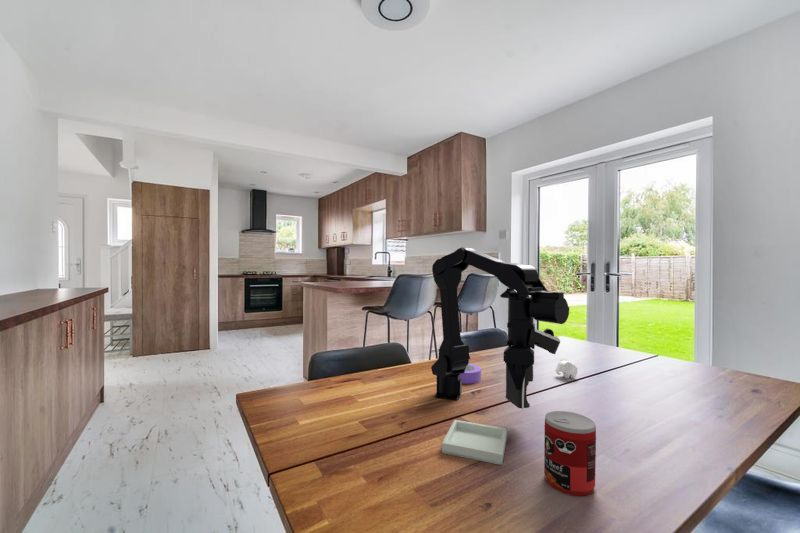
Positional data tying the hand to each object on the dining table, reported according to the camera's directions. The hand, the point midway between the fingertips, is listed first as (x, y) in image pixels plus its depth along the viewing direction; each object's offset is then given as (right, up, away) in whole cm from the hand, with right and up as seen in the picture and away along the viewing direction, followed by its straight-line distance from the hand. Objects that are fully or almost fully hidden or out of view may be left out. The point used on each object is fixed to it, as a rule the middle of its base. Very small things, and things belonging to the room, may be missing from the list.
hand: (519, 384), depth 83 cm
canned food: (+1, -10, -22) cm, 24 cm away
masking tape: (-7, -10, +36) cm, 38 cm away
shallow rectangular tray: (-12, -10, -9) cm, 18 cm away
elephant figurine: (+29, -11, +38) cm, 49 cm away
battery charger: (0, -5, 0) cm, 5 cm away
